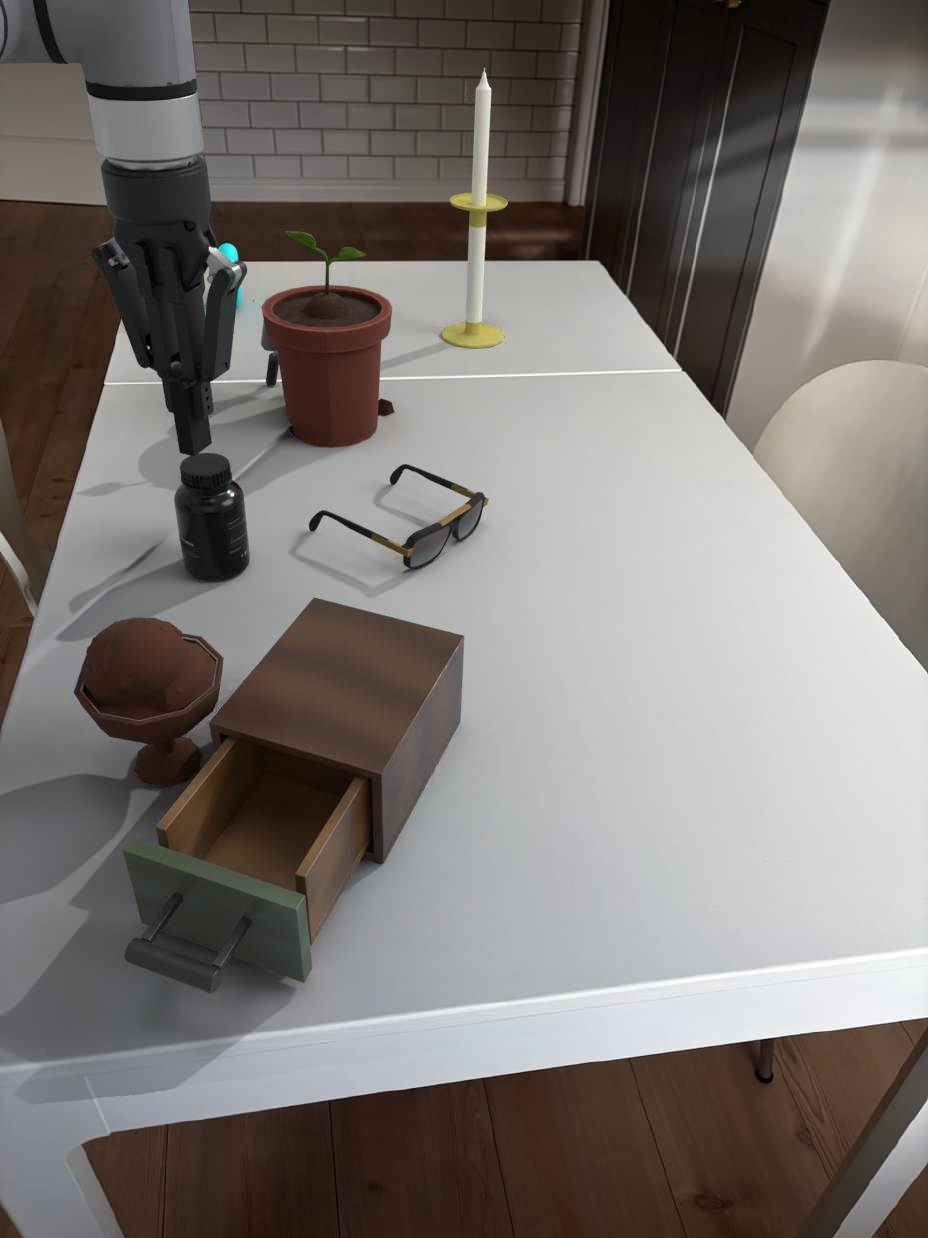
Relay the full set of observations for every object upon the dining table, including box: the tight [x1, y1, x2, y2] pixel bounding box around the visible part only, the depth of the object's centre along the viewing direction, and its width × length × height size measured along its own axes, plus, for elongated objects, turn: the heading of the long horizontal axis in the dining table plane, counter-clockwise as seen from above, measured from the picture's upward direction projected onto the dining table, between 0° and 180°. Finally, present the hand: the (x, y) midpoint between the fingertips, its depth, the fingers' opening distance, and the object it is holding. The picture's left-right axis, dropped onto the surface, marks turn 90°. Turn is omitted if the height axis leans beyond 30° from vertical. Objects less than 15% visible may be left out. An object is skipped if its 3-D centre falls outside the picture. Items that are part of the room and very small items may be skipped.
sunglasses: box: [308, 463, 490, 571], centre depth 109 cm, size 14×15×5 cm
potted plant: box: [260, 230, 395, 448], centre depth 124 cm, size 18×22×25 cm
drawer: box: [122, 736, 373, 995], centre depth 68 cm, size 21×12×8 cm, turn 160°
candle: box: [440, 67, 509, 349], centre depth 145 cm, size 10×10×38 cm
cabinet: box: [208, 596, 465, 865], centre depth 79 cm, size 17×14×10 cm
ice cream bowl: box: [73, 616, 225, 788], centre depth 76 cm, size 11×11×15 cm
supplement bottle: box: [173, 452, 251, 582], centre depth 100 cm, size 7×7×12 cm
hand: (195, 447), depth 86 cm, fingers closed
